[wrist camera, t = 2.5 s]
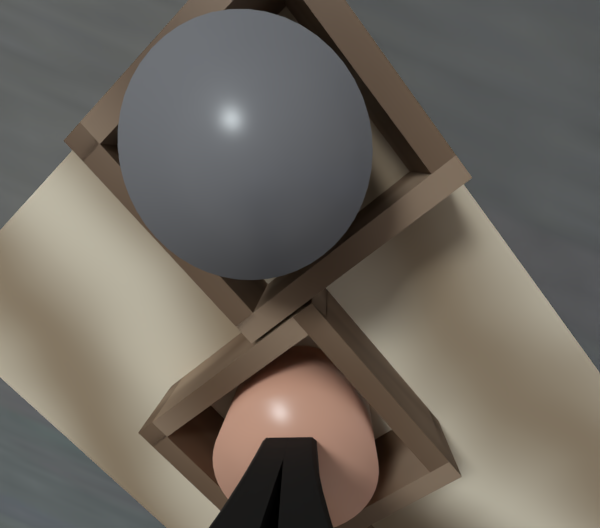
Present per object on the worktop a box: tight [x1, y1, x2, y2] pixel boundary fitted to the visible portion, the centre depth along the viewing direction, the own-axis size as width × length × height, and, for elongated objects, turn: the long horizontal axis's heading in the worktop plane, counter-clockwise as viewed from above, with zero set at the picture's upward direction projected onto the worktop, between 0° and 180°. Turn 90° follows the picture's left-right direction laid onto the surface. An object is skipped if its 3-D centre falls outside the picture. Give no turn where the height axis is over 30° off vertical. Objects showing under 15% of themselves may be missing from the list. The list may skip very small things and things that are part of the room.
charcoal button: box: [118, 9, 373, 280], centre depth 7 cm, size 4×4×3 cm
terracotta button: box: [213, 346, 379, 528], centre depth 11 cm, size 4×4×3 cm
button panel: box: [0, 0, 600, 528], centre depth 12 cm, size 16×21×3 cm
